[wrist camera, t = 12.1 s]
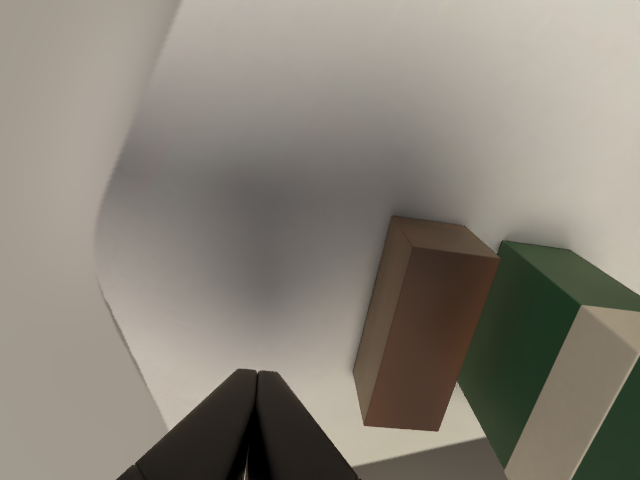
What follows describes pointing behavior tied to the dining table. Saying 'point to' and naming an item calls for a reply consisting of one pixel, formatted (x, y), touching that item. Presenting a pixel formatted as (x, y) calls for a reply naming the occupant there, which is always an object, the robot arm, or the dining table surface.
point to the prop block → (420, 322)
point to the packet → (557, 368)
